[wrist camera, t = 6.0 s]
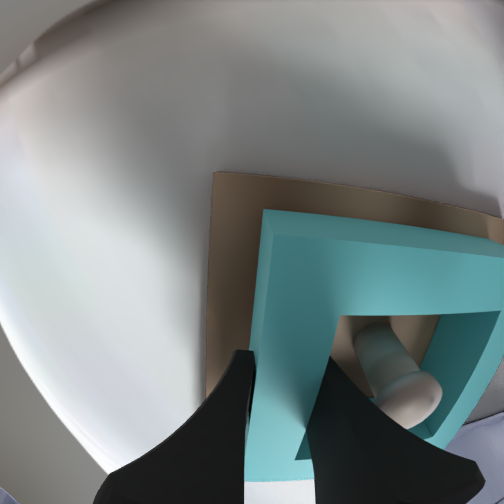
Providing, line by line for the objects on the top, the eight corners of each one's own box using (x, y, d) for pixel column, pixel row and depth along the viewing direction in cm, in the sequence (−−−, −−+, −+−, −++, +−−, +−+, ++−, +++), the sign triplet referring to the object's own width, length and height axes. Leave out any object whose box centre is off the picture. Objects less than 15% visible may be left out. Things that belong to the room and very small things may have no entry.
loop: (489, 238, 11) (538, 262, 7) (420, 411, 14) (443, 450, 11) (263, 208, 10) (273, 234, 7) (240, 426, 13) (240, 481, 10)
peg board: (502, 218, 11) (576, 249, 6) (400, 453, 17) (419, 506, 12) (218, 171, 11) (181, 181, 6) (209, 459, 17) (200, 524, 12)
